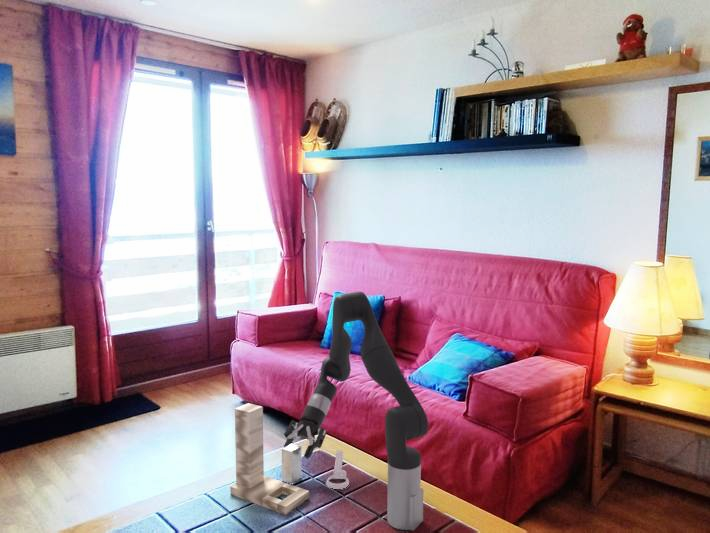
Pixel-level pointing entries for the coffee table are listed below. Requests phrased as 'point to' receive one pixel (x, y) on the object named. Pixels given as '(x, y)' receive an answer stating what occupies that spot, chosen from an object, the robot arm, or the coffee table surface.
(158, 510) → the coffee table surface
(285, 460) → the smooth gray rectangular block
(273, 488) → the beam with square loop
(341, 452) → the white vr controller
